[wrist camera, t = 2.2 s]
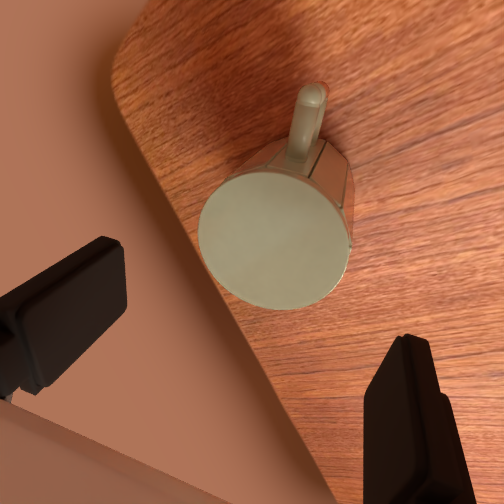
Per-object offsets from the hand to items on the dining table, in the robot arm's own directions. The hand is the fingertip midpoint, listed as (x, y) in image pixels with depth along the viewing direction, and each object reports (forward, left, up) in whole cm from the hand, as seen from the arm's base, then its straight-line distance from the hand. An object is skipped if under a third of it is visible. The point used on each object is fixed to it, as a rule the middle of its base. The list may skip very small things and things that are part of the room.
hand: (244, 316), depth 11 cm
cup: (0, +2, -12) cm, 12 cm away
